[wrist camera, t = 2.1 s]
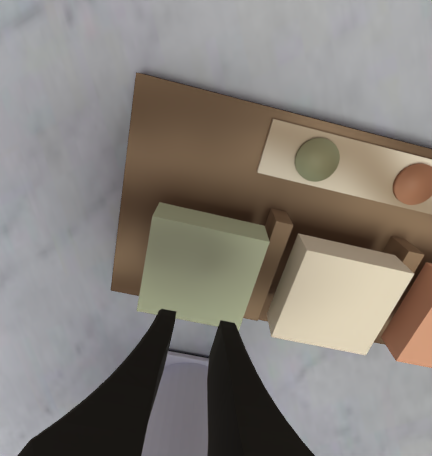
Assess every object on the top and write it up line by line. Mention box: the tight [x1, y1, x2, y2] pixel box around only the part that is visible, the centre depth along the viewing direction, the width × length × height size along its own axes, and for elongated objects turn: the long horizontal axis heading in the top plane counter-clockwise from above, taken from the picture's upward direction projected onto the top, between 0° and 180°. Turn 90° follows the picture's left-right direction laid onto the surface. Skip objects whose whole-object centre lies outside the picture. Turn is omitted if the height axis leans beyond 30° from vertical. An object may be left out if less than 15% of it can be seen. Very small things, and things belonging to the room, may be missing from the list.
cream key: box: [267, 233, 414, 355], centre depth 18 cm, size 6×6×2 cm
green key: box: [137, 202, 270, 331], centre depth 18 cm, size 6×6×2 cm
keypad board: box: [111, 73, 432, 345], centre depth 20 cm, size 14×27×4 cm, turn 77°
